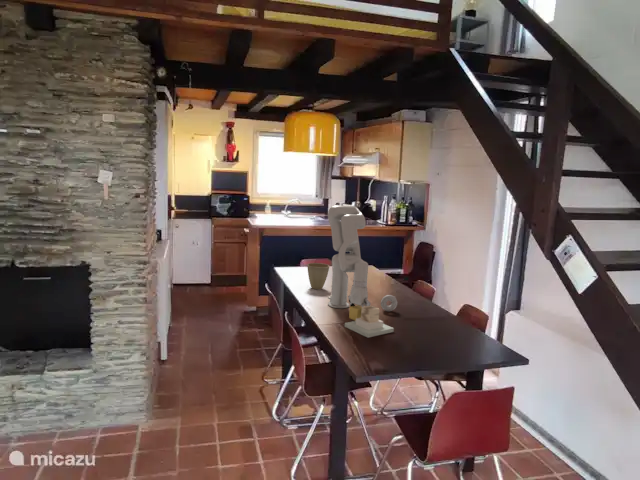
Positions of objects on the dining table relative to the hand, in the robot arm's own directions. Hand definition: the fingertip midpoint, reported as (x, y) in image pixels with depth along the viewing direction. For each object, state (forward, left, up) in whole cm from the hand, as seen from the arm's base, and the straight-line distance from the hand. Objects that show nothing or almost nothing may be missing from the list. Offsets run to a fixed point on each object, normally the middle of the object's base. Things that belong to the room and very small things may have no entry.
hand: (358, 314), depth 267 cm
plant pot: (-63, +18, -3) cm, 65 cm away
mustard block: (-1, 0, -3) cm, 3 cm away
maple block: (+15, -6, +2) cm, 16 cm away
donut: (-3, +26, -3) cm, 26 cm away
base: (+15, -6, -3) cm, 17 cm away
